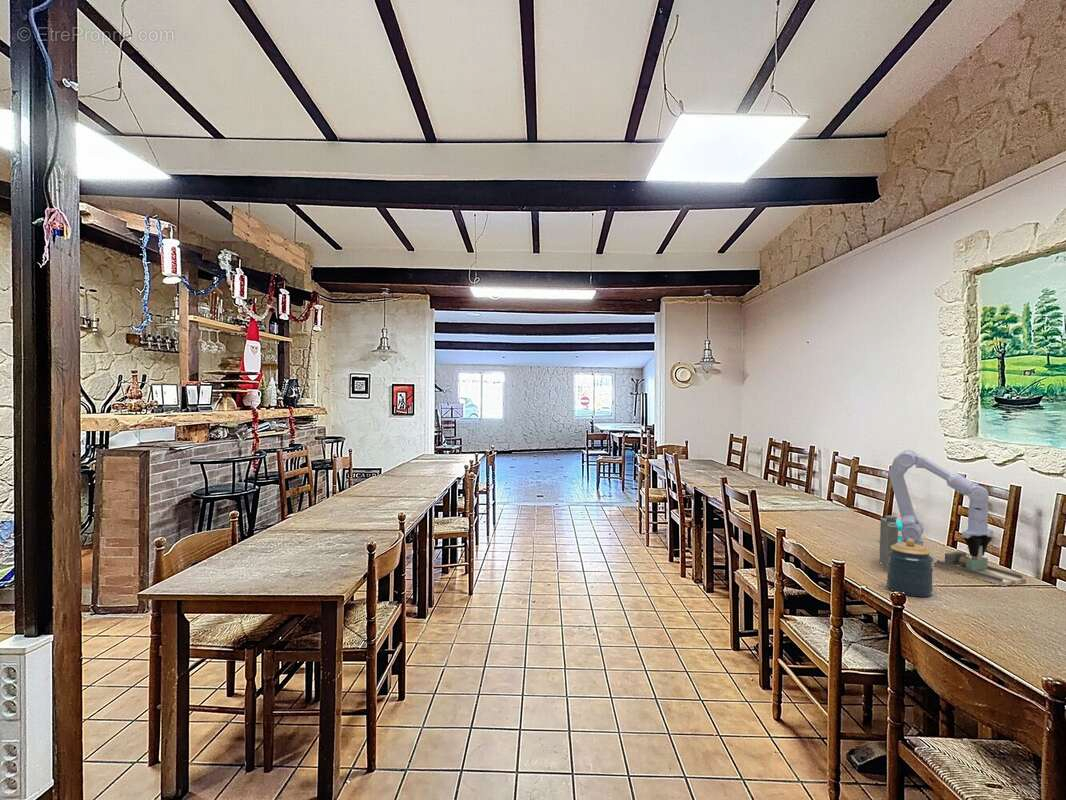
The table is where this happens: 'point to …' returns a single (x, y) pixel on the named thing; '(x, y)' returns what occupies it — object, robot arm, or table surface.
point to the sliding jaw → (977, 562)
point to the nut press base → (979, 571)
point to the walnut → (963, 560)
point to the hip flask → (887, 537)
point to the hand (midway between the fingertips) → (976, 555)
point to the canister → (910, 569)
